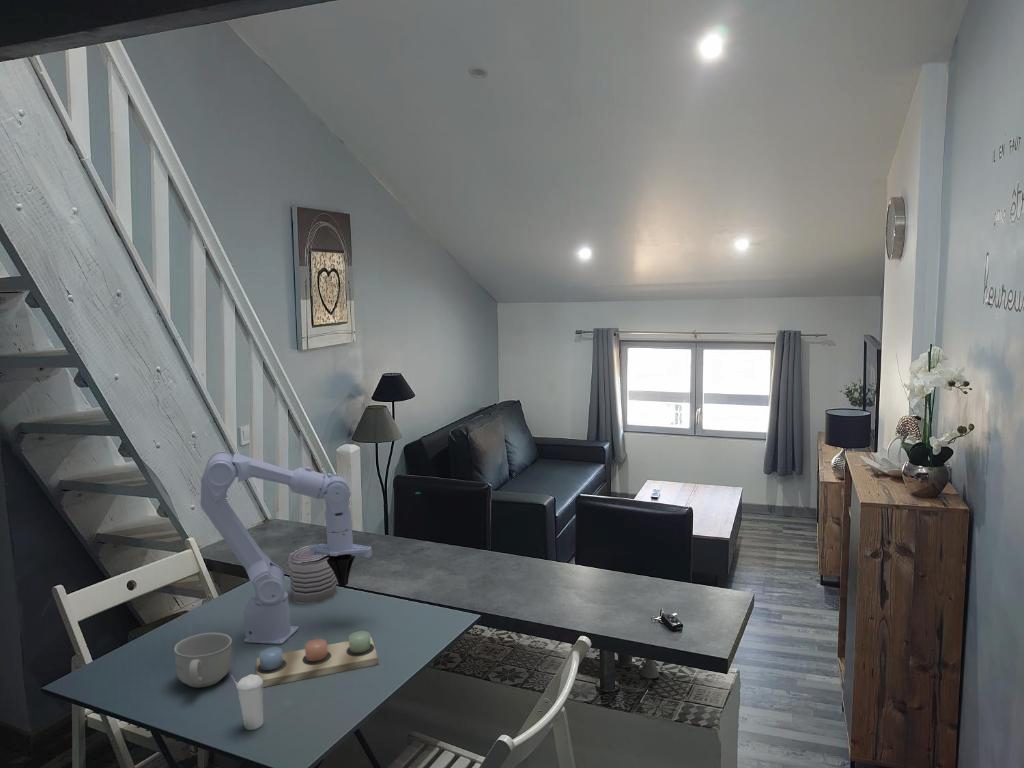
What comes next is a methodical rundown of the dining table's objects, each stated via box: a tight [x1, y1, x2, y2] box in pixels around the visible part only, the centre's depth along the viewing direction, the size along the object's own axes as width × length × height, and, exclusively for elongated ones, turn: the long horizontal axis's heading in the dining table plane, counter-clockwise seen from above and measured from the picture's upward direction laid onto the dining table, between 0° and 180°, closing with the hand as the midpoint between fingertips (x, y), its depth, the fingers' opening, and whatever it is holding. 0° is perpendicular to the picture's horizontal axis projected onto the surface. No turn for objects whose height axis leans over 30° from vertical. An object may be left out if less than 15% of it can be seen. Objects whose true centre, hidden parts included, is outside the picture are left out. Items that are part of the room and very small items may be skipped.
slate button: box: [258, 646, 283, 670], centre depth 153 cm, size 4×4×3 cm
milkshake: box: [230, 673, 264, 731], centre depth 134 cm, size 4×5×10 cm
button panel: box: [255, 636, 379, 688], centre depth 156 cm, size 24×10×2 cm, turn 108°
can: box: [287, 543, 338, 606], centre depth 191 cm, size 11×11×12 cm
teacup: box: [173, 632, 233, 688], centre depth 150 cm, size 14×11×8 cm
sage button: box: [348, 630, 371, 653], centre depth 158 cm, size 4×4×3 cm
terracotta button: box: [304, 638, 328, 661], centre depth 155 cm, size 4×4×3 cm
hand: (343, 585), depth 173 cm, fingers closed
